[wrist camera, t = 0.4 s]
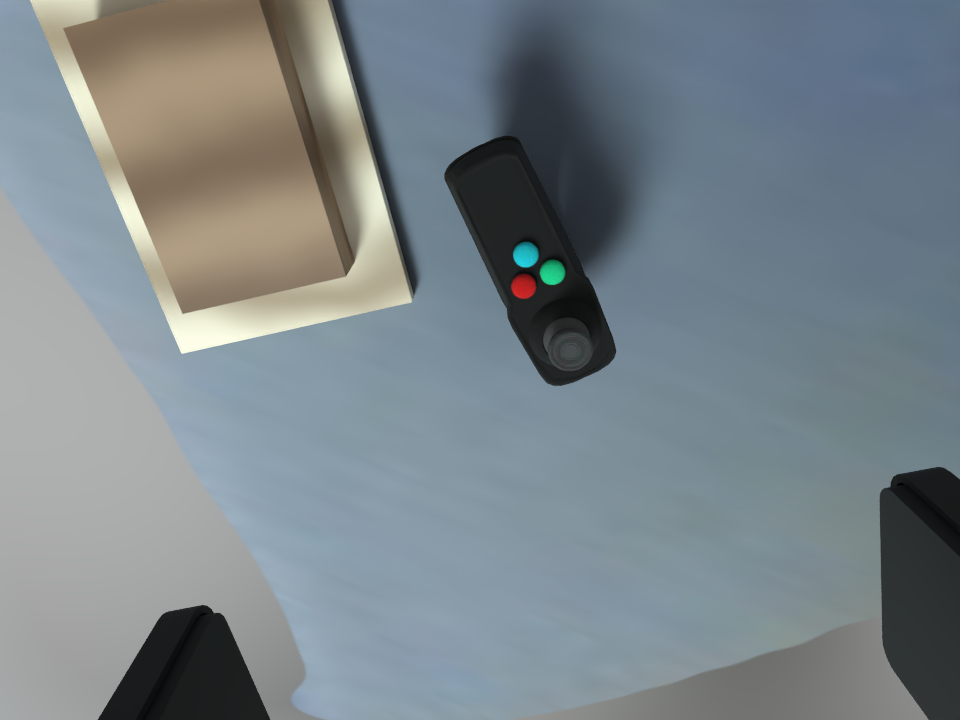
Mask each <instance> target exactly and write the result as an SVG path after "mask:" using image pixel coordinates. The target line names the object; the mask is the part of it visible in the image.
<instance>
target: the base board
mask: <svg viewBox="0 0 960 720" xmlns="http://www.w3.org/2000/svg"><path fill="white" fill-rule="evenodd" d="M30 1H31V3H32V6H33V8H34V10H35V13H36V15H37V17H38V20H39V22H40V24H41V27H42V29H43V31H44V34H45V36H46V38H47V41H48V43H49V45H50V48H51V50H52V52H53V55H54V57H55V59H56V62H57V64H58V66H59V69H60V71H61V73H62V76H63V78H64V80H65V83H66V85H67V87H68V90H69V92H70V94H71V97H72V99H73V101H74V104H75V106H76V108H77V111H78V113H79V115H80V118H81V120H82V122H83V125H84V127H85V129H86V132H87V134H88V136H89V139H90V141H91V143H92V146H93V148H94V150H95V153H96V155H97V157H98V160H99V162H100V164H101V167H102V169H103V171H104V174H105V176H106V178H107V181H108V183H109V185H110V188H111V190H112V192H113V195H114V197H115V199H116V202H117V204H118V206H119V209H120V211H121V213H122V216H123V218H124V220H125V223H126V225H127V227H128V230H129V232H130V234H131V237H132V239H133V241H134V244H135V246H136V248H137V251H138V253H139V255H140V257H141V260H142V262H143V264H144V267H145V269H146V271H147V274H148V276H149V278H150V281H151V283H152V285H153V288H154V290H155V292H156V295H157V297H158V299H159V302H160V304H161V306H162V309H163V311H164V313H165V316H166V318H167V320H168V323H169V325H170V327H171V330H172V332H173V334H174V337H175V339H176V341H177V344H178V346H179V348H180V351H181V353H182V354H183V353H187V352H192V351H196V350H201V349H205V348H210V347H214V346H218V345H223V344H227V343H232V342H236V341H241V340H245V339H250V338H254V337H259V336H263V335H267V334H272V333H276V332H281V331H285V330H290V329H294V328H299V327H303V326H308V325H312V324H317V323H321V322H325V321H330V320H334V319H339V318H343V317H348V316H352V315H357V314H361V313H366V312H370V311H374V310H379V309H383V308H388V307H392V306H397V305H401V304H406V303H410V302H412V301H413V298H414V294H413V290H412V287H411V283H410V280H409V276H408V272H407V269H406V265H405V262H404V258H403V254H402V251H401V247H400V244H399V240H398V236H397V233H396V229H395V226H394V222H393V219H392V215H391V211H390V208H389V204H388V201H387V197H386V193H385V190H384V186H383V183H382V179H381V176H380V172H379V168H378V165H377V161H376V158H375V154H374V150H373V147H372V143H371V140H370V136H369V132H368V129H367V125H366V122H365V118H364V115H363V111H362V107H361V104H360V100H359V97H358V93H357V89H356V86H355V82H354V79H353V75H352V71H351V68H350V64H349V61H348V57H347V54H346V50H345V46H344V43H343V39H342V36H341V32H340V28H339V25H338V21H337V18H336V14H335V10H334V7H333V3H332V0H30Z"/></svg>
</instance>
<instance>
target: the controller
mask: <svg viewBox="0 0 960 720" xmlns="http://www.w3.org/2000/svg"><path fill="white" fill-rule="evenodd" d="M444 175H445V181H446V183H447V185H448V187H449V189H450V191H451V194H452V196H453V198H454V200H455V202H456V204H457V206H458V208H459V210H460V213H461V215H462V217H463V219H464V221H465V223H466V225H467V227H468V229H469V232H470V234H471V236H472V238H473V240H474V242H475V244H476V246H477V249H478V251H479V253H480V255H481V257H482V259H483V261H484V263H485V265H486V268H487V270H488V272H489V274H490V276H491V278H492V280H493V282H494V284H495V287H496V289H497V291H498V293H499V295H500V297H501V299H502V301H503V303H504V305H505V306H506V308H507V315H508V319H509V322H510V324H511V326H512V328H513V330H514V332H515V333H516V335H517V337H518V338H519V340H520V342H521V343H522V345H523V347H524V349H525V350H526V352H527V354H528V355H529V357H530V359H531V360H532V362H533V364H534V366H535V367H536V369H537V371H538V372H539V374H540V375H541V376H542V378H543V379H544V380H545V381H546V383H548V384H551V385H553V386H562V385H566V384H569V383H573V382H576V381H578V380H580V379H582V378H584V377H587V376H589V375H591V374H593V373H595V372H598V371H599V370H601V369H602V368H604V367H605V366H607V365H608V364H609V363H610V362H611V361H612V360H613V359H614V357H615V354H616V348H615V344H614V340H613V337H612V334H611V332H610V329H609V327H608V324H607V321H606V319H605V316H604V314H603V311H602V308H601V306H600V303H599V301H598V298H597V296H596V293H595V290H594V288H593V286H592V284H591V282H590V280H589V279H588V278H587V277H586V276H585V274H584V271H583V268H582V266H581V264H580V261H579V259H578V257H577V255H576V253H575V251H574V249H573V247H572V245H571V243H570V241H569V239H568V237H567V235H566V233H565V231H564V229H563V227H562V225H561V223H560V221H559V219H558V217H557V215H556V213H555V211H554V209H553V207H552V205H551V203H550V201H549V199H548V197H547V195H546V193H545V191H544V189H543V187H542V185H541V183H540V181H539V179H538V177H537V175H536V173H535V171H534V169H533V167H532V165H531V163H530V161H529V159H528V157H527V155H526V153H525V151H524V149H523V147H522V145H521V143H520V141H519V140H518V139H517V138H516V137H512V136H502V137H498V138H495V139H493V140H490V141H488V142H486V143H484V144H482V145H479V146H477V147H475V148H473V149H471V150H470V151H468V152H466V153H465V154H463V155H462V156H460V157H458V158H457V159H456V160H454V161H453V162H452V163H451V164H450V165H449V166H448V168H447V169H446V172H445V174H444Z"/></svg>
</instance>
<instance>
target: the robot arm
mask: <svg viewBox="0 0 960 720" xmlns="http://www.w3.org/2000/svg"><path fill="white" fill-rule="evenodd" d="M880 537H881V589H882V639H883V646H884V650H885V653H886V656H887V659H888V661H889V663H890V665H891V667H892V668H893V670H894V672H895V673H896V675H897V676H898V677H899V679H900V680H901V681H902V683H903V684H904V686H905V687H906V688H907V690H908V691H909V693H910V694H911V695H912V697H913V698H914V700H915V701H916V702H917V704H918V705H919V706H920V708H921V709H922V711H923V712H924V714H925V715H926V716H927V718H928V719H929V720H960V479H958V478H957V477H956V476H955V475H953V474H952V473H951V472H950V471H948V470H946V469H945V468H942V467H935V468H930V469H925V470H919V471H914V472H909V473H903V474H898V475H896V476H894V477H893V479H892V481H891V486H890V487H889V488H884V489H883V490H882V491H881V493H880ZM98 720H270V718H269V716H268V714H267V711H266V709H265V707H264V705H263V702H262V700H261V698H260V695H259V693H258V691H257V689H256V686H255V684H254V682H253V680H252V678H251V675H250V673H249V671H248V668H247V666H246V664H245V662H244V659H243V657H242V655H241V653H240V650H239V648H238V646H237V644H236V641H235V639H234V637H233V635H232V632H231V630H230V628H229V626H228V623H227V621H226V619H225V618H224V616H223V615H222V614H220V613H213V611H212V609H211V608H209V607H208V606H204V605H201V606H195V607H190V608H185V609H180V610H174V611H169V612H166V613H164V614H163V615H162V616H161V617H160V618H159V620H158V621H157V623H156V625H155V626H154V628H153V629H152V631H151V633H150V634H149V636H148V638H147V639H146V641H145V643H144V644H143V646H142V648H141V649H140V651H139V653H138V654H137V656H136V658H135V659H134V661H133V663H132V664H131V666H130V668H129V669H128V671H127V672H126V674H125V676H124V677H123V679H122V681H121V682H120V684H119V686H118V687H117V689H116V691H115V692H114V694H113V696H112V697H111V699H110V700H109V702H108V704H107V706H106V707H105V709H104V710H103V712H102V714H101V715H100V717H99V719H98Z"/></svg>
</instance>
